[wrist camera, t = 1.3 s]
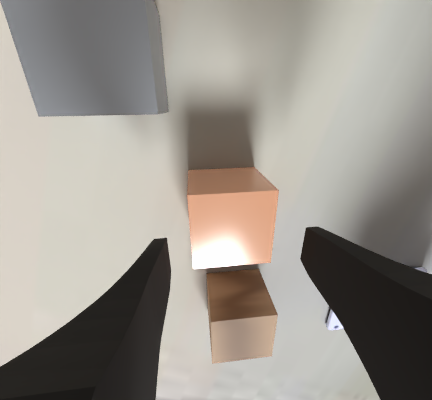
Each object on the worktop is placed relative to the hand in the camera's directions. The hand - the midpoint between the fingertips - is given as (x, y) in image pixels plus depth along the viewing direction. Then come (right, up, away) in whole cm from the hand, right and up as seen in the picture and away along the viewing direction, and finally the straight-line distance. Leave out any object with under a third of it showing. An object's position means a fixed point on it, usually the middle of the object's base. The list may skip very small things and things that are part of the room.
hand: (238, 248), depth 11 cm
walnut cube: (0, -6, +10) cm, 12 cm away
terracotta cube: (-1, +3, +6) cm, 7 cm away
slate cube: (-7, +11, +2) cm, 13 cm away
